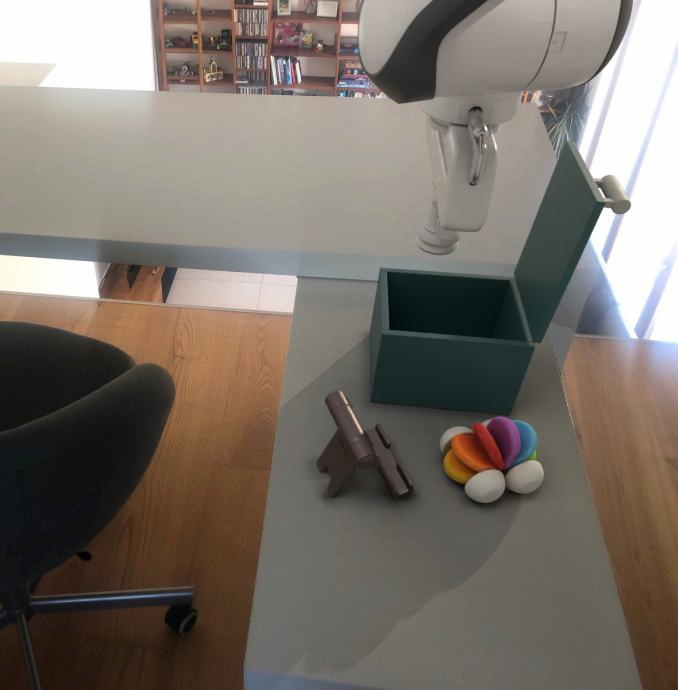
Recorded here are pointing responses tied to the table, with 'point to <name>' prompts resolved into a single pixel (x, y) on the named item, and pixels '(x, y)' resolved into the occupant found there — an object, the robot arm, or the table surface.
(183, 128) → the table surface
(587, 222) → the lid
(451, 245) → the rook chess piece
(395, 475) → the tablet stand
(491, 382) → the teal hinged box
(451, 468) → the multicoloured rounded lobed piece
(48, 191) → the table surface
